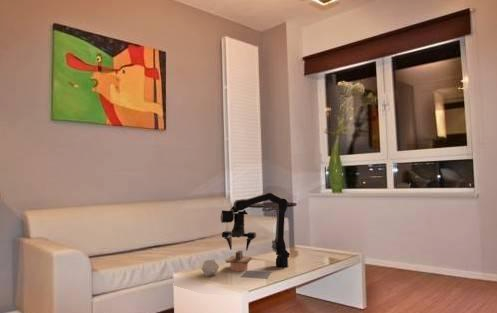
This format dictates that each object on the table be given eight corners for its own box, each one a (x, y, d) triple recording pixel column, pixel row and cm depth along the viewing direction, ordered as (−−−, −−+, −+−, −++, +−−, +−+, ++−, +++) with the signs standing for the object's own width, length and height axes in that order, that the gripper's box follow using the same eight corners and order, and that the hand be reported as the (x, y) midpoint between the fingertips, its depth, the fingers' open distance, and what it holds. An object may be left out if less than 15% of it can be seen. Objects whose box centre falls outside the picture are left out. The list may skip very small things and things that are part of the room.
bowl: (249, 268, 210) (249, 259, 210) (245, 272, 200) (245, 263, 201) (232, 267, 212) (233, 258, 212) (228, 271, 203) (228, 262, 203)
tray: (271, 273, 199) (271, 272, 199) (267, 280, 185) (267, 278, 186) (246, 271, 202) (246, 270, 202) (240, 278, 189) (240, 277, 189)
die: (216, 273, 200) (205, 259, 201) (224, 268, 194) (213, 253, 195) (206, 282, 193) (195, 267, 194) (214, 277, 188) (203, 261, 189)
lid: (251, 259, 211) (251, 250, 211) (247, 263, 199) (247, 254, 200) (231, 257, 214) (231, 249, 214) (225, 262, 202) (225, 253, 202)
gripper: (219, 223, 202) (218, 252, 201) (252, 224, 198) (252, 254, 197) (224, 221, 213) (224, 248, 212) (256, 222, 209) (256, 250, 208)
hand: (238, 250), depth 207 cm, fingers open, 9 cm apart
